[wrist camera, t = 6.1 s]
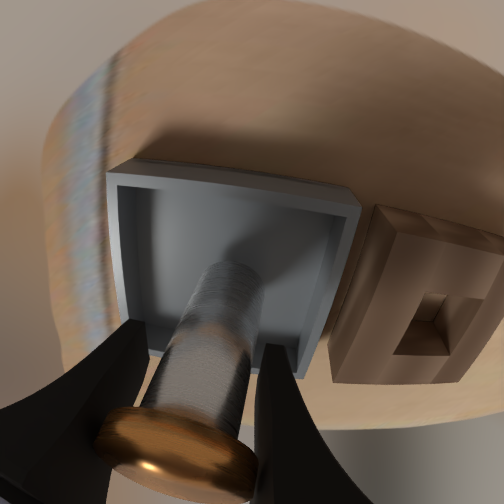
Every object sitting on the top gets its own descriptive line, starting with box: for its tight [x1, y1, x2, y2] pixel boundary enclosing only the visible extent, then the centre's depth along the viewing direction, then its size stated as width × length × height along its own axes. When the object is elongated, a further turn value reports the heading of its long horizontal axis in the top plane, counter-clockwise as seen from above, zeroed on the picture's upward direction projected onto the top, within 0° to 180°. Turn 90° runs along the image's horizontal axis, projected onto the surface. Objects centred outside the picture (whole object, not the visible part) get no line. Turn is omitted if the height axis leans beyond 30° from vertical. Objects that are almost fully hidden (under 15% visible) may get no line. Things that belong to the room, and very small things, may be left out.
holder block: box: [327, 204, 504, 385], centre depth 14 cm, size 9×9×3 cm
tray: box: [106, 158, 362, 379], centre depth 15 cm, size 10×10×2 cm
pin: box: [93, 261, 265, 504], centre depth 10 cm, size 4×4×9 cm
